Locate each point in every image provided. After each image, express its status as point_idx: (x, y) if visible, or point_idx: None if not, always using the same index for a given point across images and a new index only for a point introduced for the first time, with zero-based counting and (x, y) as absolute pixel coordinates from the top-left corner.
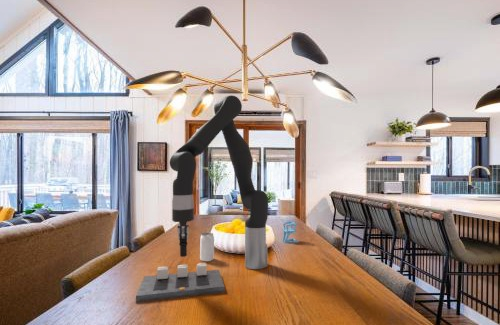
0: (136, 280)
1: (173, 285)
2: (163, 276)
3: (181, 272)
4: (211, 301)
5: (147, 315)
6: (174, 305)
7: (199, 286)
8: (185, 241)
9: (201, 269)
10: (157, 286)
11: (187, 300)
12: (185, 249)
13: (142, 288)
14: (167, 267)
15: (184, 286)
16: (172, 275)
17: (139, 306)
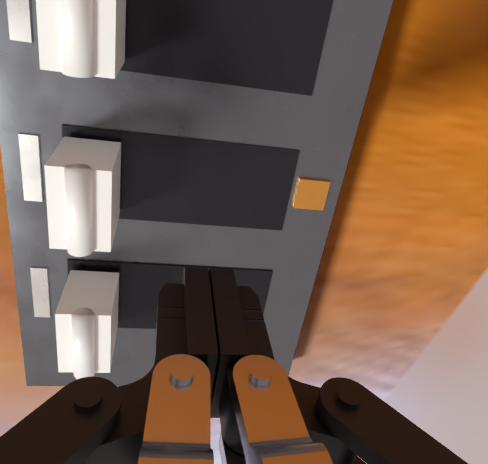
0: (2, 392)
1: (234, 238)
2: (117, 305)
3: (115, 202)
4: (474, 15)
5: (415, 316)
6: (395, 220)
7: (328, 75)
8: (438, 460)
9: (120, 21)
10: None
11: (380, 155)
12: (240, 329)
13: None
14: (91, 321)
15: (284, 177)
16: (47, 239)
17: (323, 348)
